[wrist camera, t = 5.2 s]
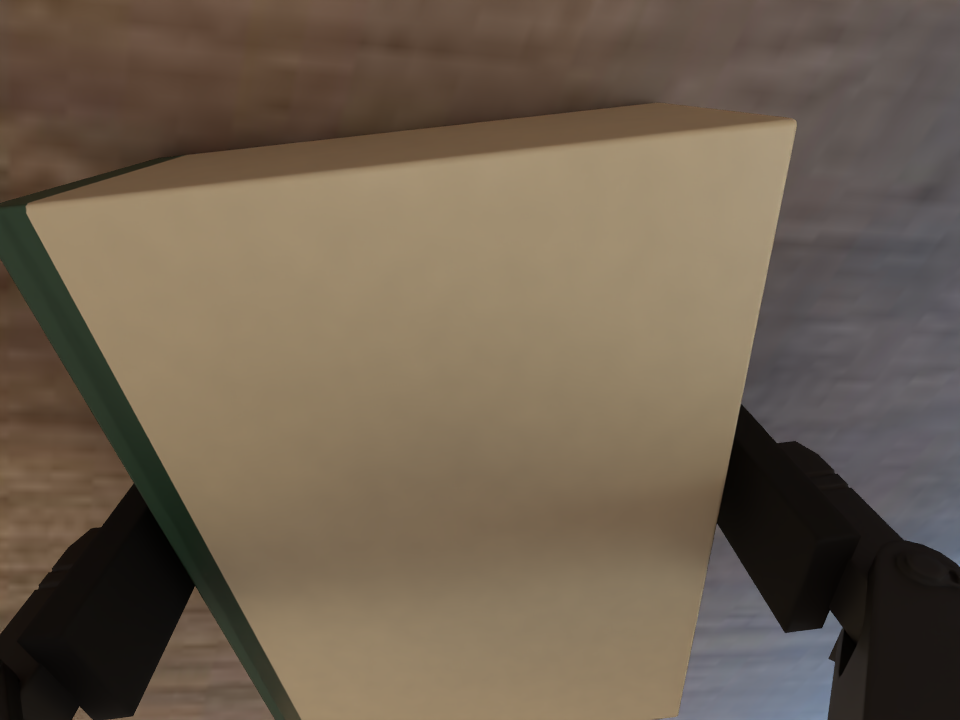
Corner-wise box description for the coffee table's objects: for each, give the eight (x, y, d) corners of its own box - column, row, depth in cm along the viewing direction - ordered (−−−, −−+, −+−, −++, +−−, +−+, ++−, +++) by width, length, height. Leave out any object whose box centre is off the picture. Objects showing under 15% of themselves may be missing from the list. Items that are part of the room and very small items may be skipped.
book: (156, 158, 11) (-33, 211, 7) (660, 101, 11) (802, 117, 7) (332, 606, 19) (299, 764, 15) (625, 571, 19) (678, 718, 15)
